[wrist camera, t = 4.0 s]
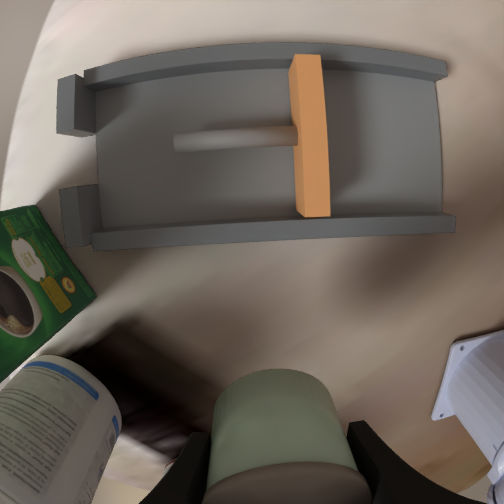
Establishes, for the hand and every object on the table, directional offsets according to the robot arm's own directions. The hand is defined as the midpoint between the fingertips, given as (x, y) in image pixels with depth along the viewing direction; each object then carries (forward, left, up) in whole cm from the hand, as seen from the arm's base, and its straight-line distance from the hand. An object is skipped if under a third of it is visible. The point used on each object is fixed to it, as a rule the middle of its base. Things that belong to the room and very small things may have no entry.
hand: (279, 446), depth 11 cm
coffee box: (+14, -6, -10) cm, 18 cm away
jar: (0, 0, -2) cm, 2 cm away
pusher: (+1, -12, -9) cm, 15 cm away
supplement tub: (+16, +6, -10) cm, 20 cm away
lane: (-1, -12, -9) cm, 15 cm away
